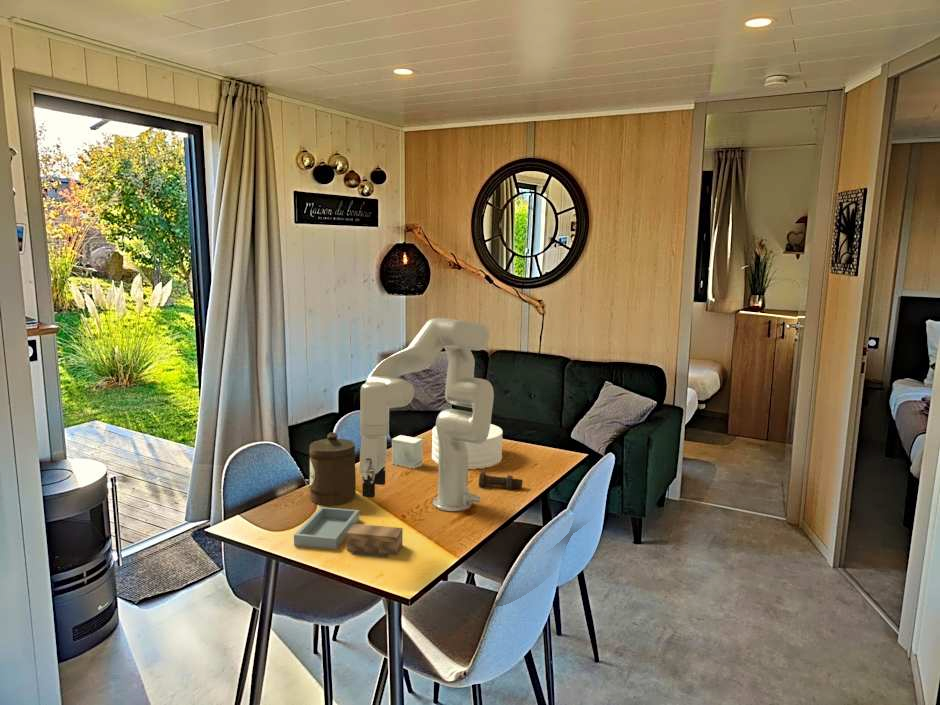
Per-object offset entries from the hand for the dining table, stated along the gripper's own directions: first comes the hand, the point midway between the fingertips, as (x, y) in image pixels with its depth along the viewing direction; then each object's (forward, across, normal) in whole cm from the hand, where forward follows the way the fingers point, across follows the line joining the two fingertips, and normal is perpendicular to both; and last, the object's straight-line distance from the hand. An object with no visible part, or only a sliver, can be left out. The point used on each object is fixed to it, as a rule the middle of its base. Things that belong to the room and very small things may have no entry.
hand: (374, 490), depth 176 cm
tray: (+18, -7, -16) cm, 25 cm away
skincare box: (+17, -72, -9) cm, 75 cm away
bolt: (+17, -56, +29) cm, 65 cm away
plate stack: (+17, -86, +12) cm, 89 cm away
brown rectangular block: (+16, 0, 0) cm, 17 cm away
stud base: (+18, 0, 0) cm, 18 cm away
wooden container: (+18, -35, -25) cm, 47 cm away
